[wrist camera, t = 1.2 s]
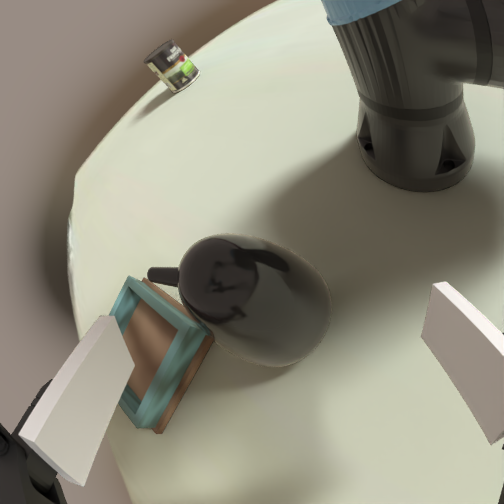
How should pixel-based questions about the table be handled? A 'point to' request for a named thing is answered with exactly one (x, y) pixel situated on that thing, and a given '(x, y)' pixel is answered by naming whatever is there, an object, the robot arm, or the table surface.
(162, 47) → the coffee can
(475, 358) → the robot arm
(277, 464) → the table surface
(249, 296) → the dark grey glossy oval
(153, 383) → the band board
